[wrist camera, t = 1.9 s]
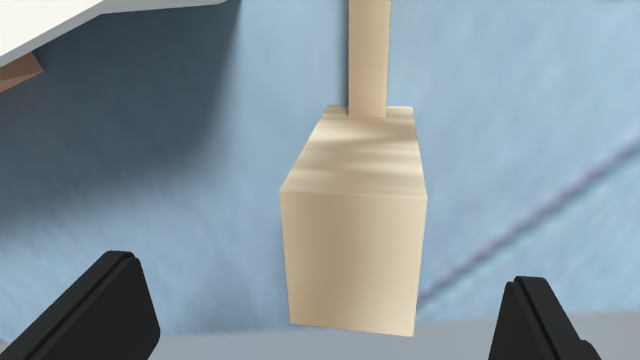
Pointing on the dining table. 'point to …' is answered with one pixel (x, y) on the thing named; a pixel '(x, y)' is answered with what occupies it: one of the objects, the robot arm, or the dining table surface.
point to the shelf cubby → (62, 19)
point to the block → (19, 71)
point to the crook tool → (357, 200)
